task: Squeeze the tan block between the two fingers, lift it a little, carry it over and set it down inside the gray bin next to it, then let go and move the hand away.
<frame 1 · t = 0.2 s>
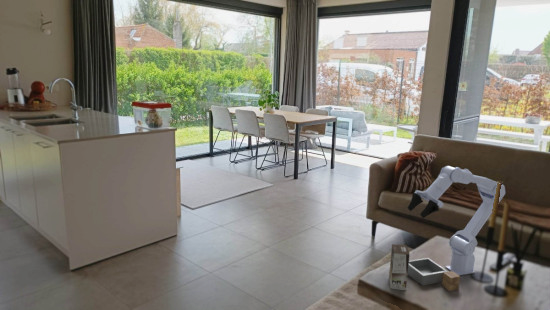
hand: (415, 212, 164), 31 cm above the table, tool tilted 45°, fingers open, 7 cm apart
gray bin: (424, 275, 175), on the table
coffee box: (397, 284, 168), on the table
tan block: (450, 287, 166), on the table
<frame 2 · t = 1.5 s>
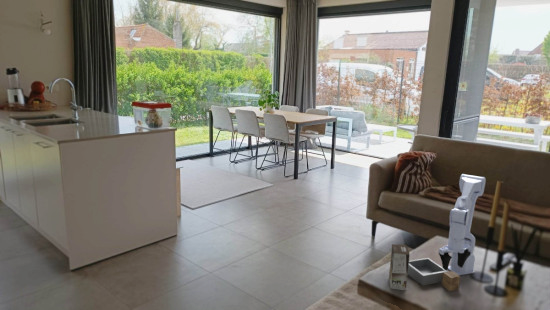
hand: (452, 267, 164), 9 cm above the table, tool pointing down, fingers open, 7 cm apart
nothing on the table moved.
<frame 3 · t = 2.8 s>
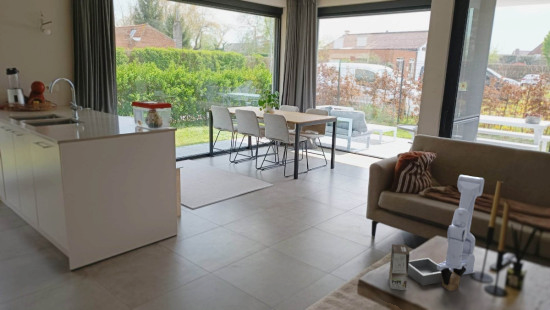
hand: (450, 283, 165), 2 cm above the table, tool pointing down, fingers closed on tan block, 4 cm apart
tan block: (450, 287, 166), on the table, touching gripper
everything else where it was.
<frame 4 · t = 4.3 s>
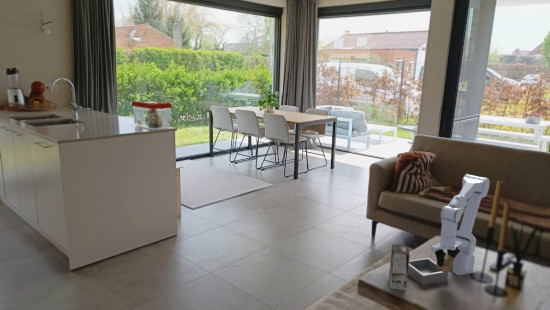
hand: (444, 264, 166), 9 cm above the table, tool pointing down, fingers closed on tan block, 4 cm apart
tan block: (444, 269, 167), point 7 cm above the table, touching gripper
everything else where it was.
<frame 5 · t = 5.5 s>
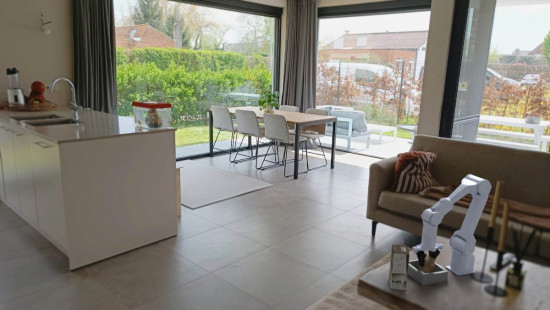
hand: (425, 265, 174), 5 cm above the table, tool pointing down, fingers closed on tan block, 4 cm apart
tan block: (425, 270, 174), point 3 cm above the table, touching gripper
everything else where it was.
when the fingers open (4 cm above the table, at t = 6.2 s): tan block drops 1 cm, resting on gray bin.
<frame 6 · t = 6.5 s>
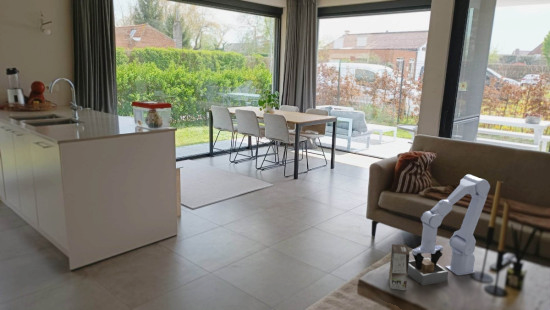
hand: (425, 267, 174), 4 cm above the table, tool pointing down, fingers open, 7 cm apart
tan block: (425, 274, 174), point 1 cm above the table, touching gray bin
everything else where it was.
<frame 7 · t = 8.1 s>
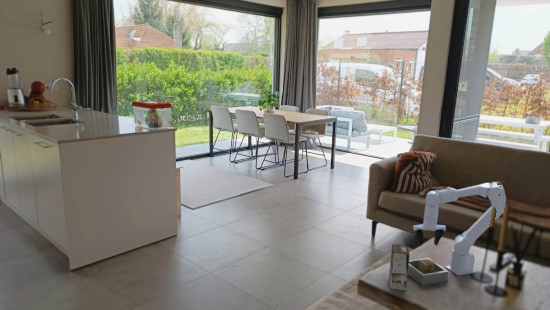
hand: (427, 244, 184), 9 cm above the table, tool pointing down, fingers open, 7 cm apart
nothing on the table moved.
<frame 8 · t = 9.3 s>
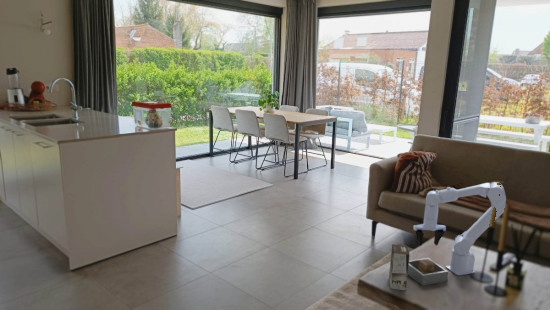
hand: (427, 244, 184), 9 cm above the table, tool pointing down, fingers open, 7 cm apart
nothing on the table moved.
at the end: tan block inside the target area on the gray bin (0.3 cm from its centre), point 0.6 cm above the gray bin's base; the gripper is holding nothing; tan block tilted 0° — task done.
